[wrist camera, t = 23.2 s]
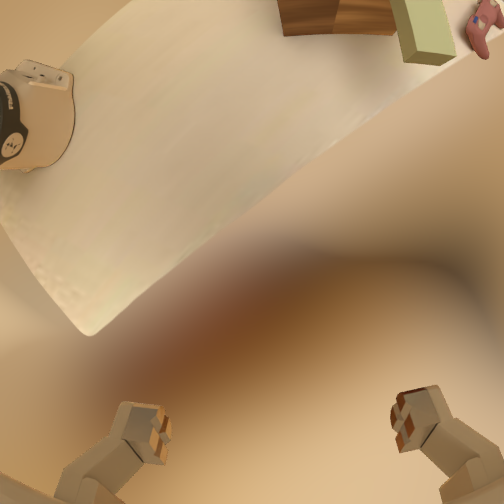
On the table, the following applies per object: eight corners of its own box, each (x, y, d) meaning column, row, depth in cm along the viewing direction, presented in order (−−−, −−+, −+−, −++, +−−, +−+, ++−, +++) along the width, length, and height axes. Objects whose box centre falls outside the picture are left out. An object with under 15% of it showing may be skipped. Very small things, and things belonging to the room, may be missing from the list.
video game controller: (480, 12, 26) (482, -16, 20) (505, 27, 24) (510, 0, 18) (459, 47, 29) (460, 18, 23) (486, 64, 28) (491, 37, 21)
